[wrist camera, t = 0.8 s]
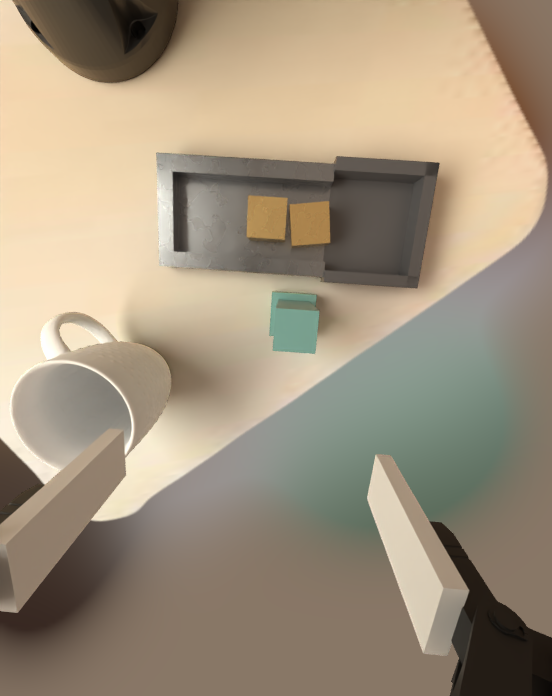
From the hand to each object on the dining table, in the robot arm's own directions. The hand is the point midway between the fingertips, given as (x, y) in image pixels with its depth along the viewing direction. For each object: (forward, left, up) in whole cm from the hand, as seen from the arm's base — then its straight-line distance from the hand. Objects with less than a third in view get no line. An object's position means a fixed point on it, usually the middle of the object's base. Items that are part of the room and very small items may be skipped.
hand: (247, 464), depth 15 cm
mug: (+3, -17, -22) cm, 28 cm away
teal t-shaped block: (-5, +2, -22) cm, 23 cm away
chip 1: (-15, -1, -22) cm, 26 cm away
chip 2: (-15, +3, -22) cm, 27 cm away
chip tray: (-15, +10, -22) cm, 29 cm away
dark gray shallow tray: (-15, -4, -22) cm, 27 cm away
